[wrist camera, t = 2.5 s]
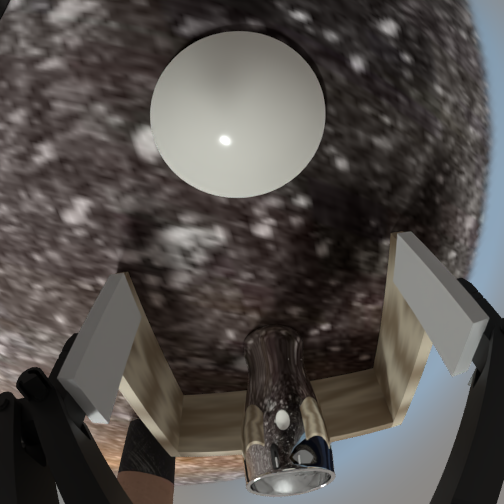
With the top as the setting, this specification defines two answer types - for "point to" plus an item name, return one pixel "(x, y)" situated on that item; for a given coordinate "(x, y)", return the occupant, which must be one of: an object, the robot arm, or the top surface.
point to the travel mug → (146, 467)
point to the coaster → (237, 114)
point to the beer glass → (282, 418)
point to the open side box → (327, 390)
